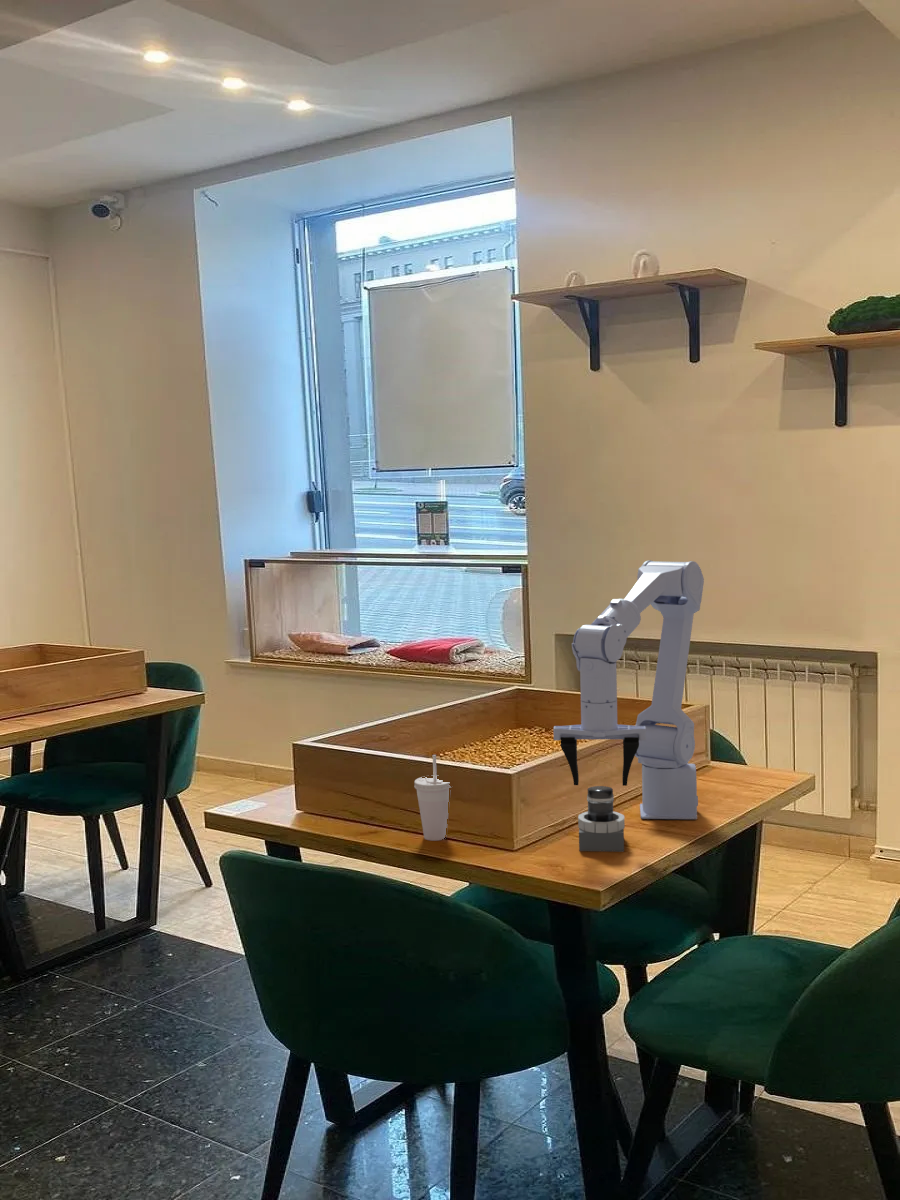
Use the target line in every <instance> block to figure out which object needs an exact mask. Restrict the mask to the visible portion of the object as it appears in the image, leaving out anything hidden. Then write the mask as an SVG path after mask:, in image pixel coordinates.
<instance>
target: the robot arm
mask: <svg viewBox="0 0 900 1200" xmlns="http://www.w3.org/2000/svg"><path fill="white" fill-rule="evenodd" d="M702 572H703V571H702V568H701V567H700V565H699V564H698V563H697V562H696V561H694V560H693V561H692V560H690V561H661V560H658V561H656V560H655V561H654V560H651V559H650V560H646V561H644V562H643V563H642V565H641V566H640V567H638V569H637V576H636V577H637V579H636V580H637V581H636V582H635V584H634V585H633V586H632V588H631V589H630V590H629V591H628V593H627V594H626V596H625V597H624V598H612V600H611V601H610V602H609V605H607V607H606V608H605V609H604V610H603V611H602V612H601V613H600V614H599V615H598V616H597V617H596V618H595V619H594V620H593V621H592V622H591V623H590V624H583V625H581V627H578V628H577V629H576V630H575V632H574V635H573V640H572V643H571V650H572V654H573V656H574V658H575V661H576V662H575V663H576V669H577V671H578V672H580V673H579V675H580V678H579V679H580V680H579V682H580V685H579V687H580V723H581V724H571V725H554V726H553V733H552V734H553V741H560V748H561V750H562V753H564V756H565V758H566V760H567V761H566V762H567V763H568V766H569V769H570V772H571V775H572V780H573V785H574V786H579V783H580V782H579V780H580V779H579V767H578V766H579V765H578V740H622V746H623V747H622V749H623V750H622V751H623V752H622V754H623V756H622V758H623V759H622V761H623V762H622V763H623V764H622V786H628V780H629V773H630V770H631V766H632V763H633V761H634V759H635V757H636V758H637V764H641V781H642V782H641V783H642V784H641V786H642V787H641V791H642V799H641V800H642V801H641V802H642V803H640V804H639V811H640V813H639V814H640V819H642V820H645V819H647V820H697V819H698V806H699V798H698V797H699V796H698V795H697V793H698V792H697V791H698V790H697V789H698V787H697V780H698V779H697V767H696V764H695V763H689V762H690V761H691V760H692V758H693V756H694V753H695V746H696V739H695V723H694V721H693V720H692V719H691V718H690V717H689V715H687V713H686V712H684V710H683V709H682V705H683V697H684V696H683V695H684V689H685V683H686V673H687V667H688V659H689V651H690V645H691V636H692V630H693V622H694V615H695V614H696V613H697V612H699V611H700V609H701V603H702V600H703V599H702V598H703V591H704V583H705V577H704V575H703V573H702ZM650 605H651V607H652V608H653V609H655V610H656V611H658V612H660V614H661V616H662V618H663V619H662V620H663V621H662V625H661V634H660V641H659V642H660V643H659V647H658V648H659V649H658V656H657V662H656V668H655V669H656V671H655V677H654V682H653V683H654V684H653V690H652V691H653V692H652V699H651V705H650V706H648V707H647V708H646V709H644V710H643V711H641V712H640V713H638V714H637V718H636V722H635V725H632V724H631V725H629V724H618V689H617V688H618V684H617V683H618V682H617V678H618V676H617V675H618V674H617V672H618V671H617V661H619V660H620V659H621V657H622V656H623V652H624V647H625V645H626V643H627V639H628V637H630V635H631V634H632V633H633V632H634V631H635V630H636V629H637V627H639V625H640V624H641V620H642V618H641V616H642V615H641V613H643V611H644V610H646V609H647V608H648V607H649V606H650ZM659 724H660V725H659ZM661 724H664V725H661ZM669 725H672V726H669Z"/></svg>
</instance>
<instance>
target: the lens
mask: <svg viewBox="0 0 900 1200" xmlns="http://www.w3.org/2000/svg"><path fill="white" fill-rule="evenodd" d="M614 796H615V795H614V790H613V788H612V787H610V786H606V785H605V786H604V785H597V786H596V785H595V786H594V785H593V786H590V787H588V788H587V795H586V801H587V812H588V821H594V822H610V821H613V812H614V799H615V798H614Z"/></svg>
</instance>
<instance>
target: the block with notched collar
mask: <svg viewBox="0 0 900 1200" xmlns="http://www.w3.org/2000/svg"><path fill="white" fill-rule="evenodd" d="M577 819H578V820H577V821H578V823H577V824H578V826H577V827H578V848H579V849H578V850H579V852H616V853H617V852H625V834H624V833H625V832H624V831H625V830H624V829H625V826H626V825H625V815H624V814H622V812H621V813H620V812H617V811H613V821H610V822H594V821H588V811H584V812H582V813H579V814H578V817H577Z"/></svg>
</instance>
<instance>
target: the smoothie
mask: <svg viewBox="0 0 900 1200" xmlns="http://www.w3.org/2000/svg"><path fill="white" fill-rule="evenodd" d="M432 771H433V772H432V773H433V774H432V776H433V778H427V777H425V776H424V777H425V778H422V777H423V776H421V777H418V778H416V779H415V780H414V786H413V787H414V789H415V790H416V795H417V800H418V807H419V812H420V813H419V815H420V820H421V827H422V832H423V839H424V840H427V841H433V842H434V841H442V839H443V840H445V839H446V838H445V835H446V828H447V829H448V824H447V819H448V820H449V813H448V802H449V788H452V787H451V786H450V785H449V784H450V782H443V780H439V779H437V776H438V775H437V754H432ZM449 803H450V802H449ZM446 836H447V835H446ZM444 838H445V839H444Z"/></svg>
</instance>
